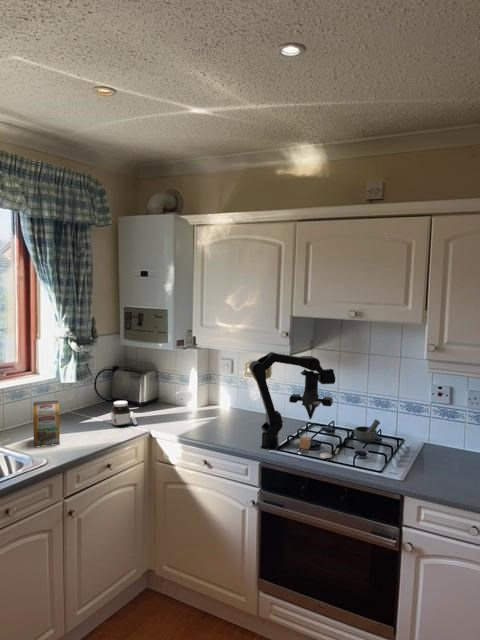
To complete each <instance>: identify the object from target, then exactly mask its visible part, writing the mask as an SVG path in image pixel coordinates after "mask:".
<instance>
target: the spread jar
mask: <svg viewBox="0 0 480 640" xmlns="http://www.w3.org/2000/svg"><path fill="white" fill-rule="evenodd" d="M110 410H111V411H110V412H111V413H110V417H111V418H110V420H111V423H112V426H113V427H115V428H124V427H127V426H129V425H130V423H131V419H132V422H133V424H134V426H136V425H137V424H138V423H137V420H136V417H135V414H134V412H133V411H131V409H130V406H128V401H127V400H116V401H114V402H113V406H112V407H111V409H110Z"/></svg>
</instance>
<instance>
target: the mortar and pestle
mask: <svg viewBox="0 0 480 640" xmlns="http://www.w3.org/2000/svg"><path fill="white" fill-rule="evenodd" d="M380 424H381V422H380V420H378V419H374V420H373V422H372V423H371V425H370V426H356V427H354V429H353V433H354V436H355V438H356V440H357V441H358V442H359V443H361V444H366V445H367V444H372V442H373V441H375V439H376V437H377V432H378V431H377V428H378V426H379V425H380Z"/></svg>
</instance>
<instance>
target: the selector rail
mask: <svg viewBox="0 0 480 640" xmlns="http://www.w3.org/2000/svg"><path fill="white" fill-rule="evenodd" d="M294 448H295V449H297V450H299V449H300V448H299V442H298V443H297V444H296V446H295V447H294ZM339 451H340V448H339V447H337V448H336V449H335V452H334V454H335V455H338V452H339Z"/></svg>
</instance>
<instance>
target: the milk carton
mask: <svg viewBox="0 0 480 640" xmlns="http://www.w3.org/2000/svg"><path fill="white" fill-rule="evenodd" d="M59 407H60V405H59V399H49V400H48V399H47V400H37V401H36V400H35V401H34V400H33V401H32V421H33V424H32V425H33V429H32V430H33V447H34V446H40V447H42V446H41V445H49V446H53V445H52V444H58V445H61V444H60V443H61V442H60V441H61V440H60V408H59Z"/></svg>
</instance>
